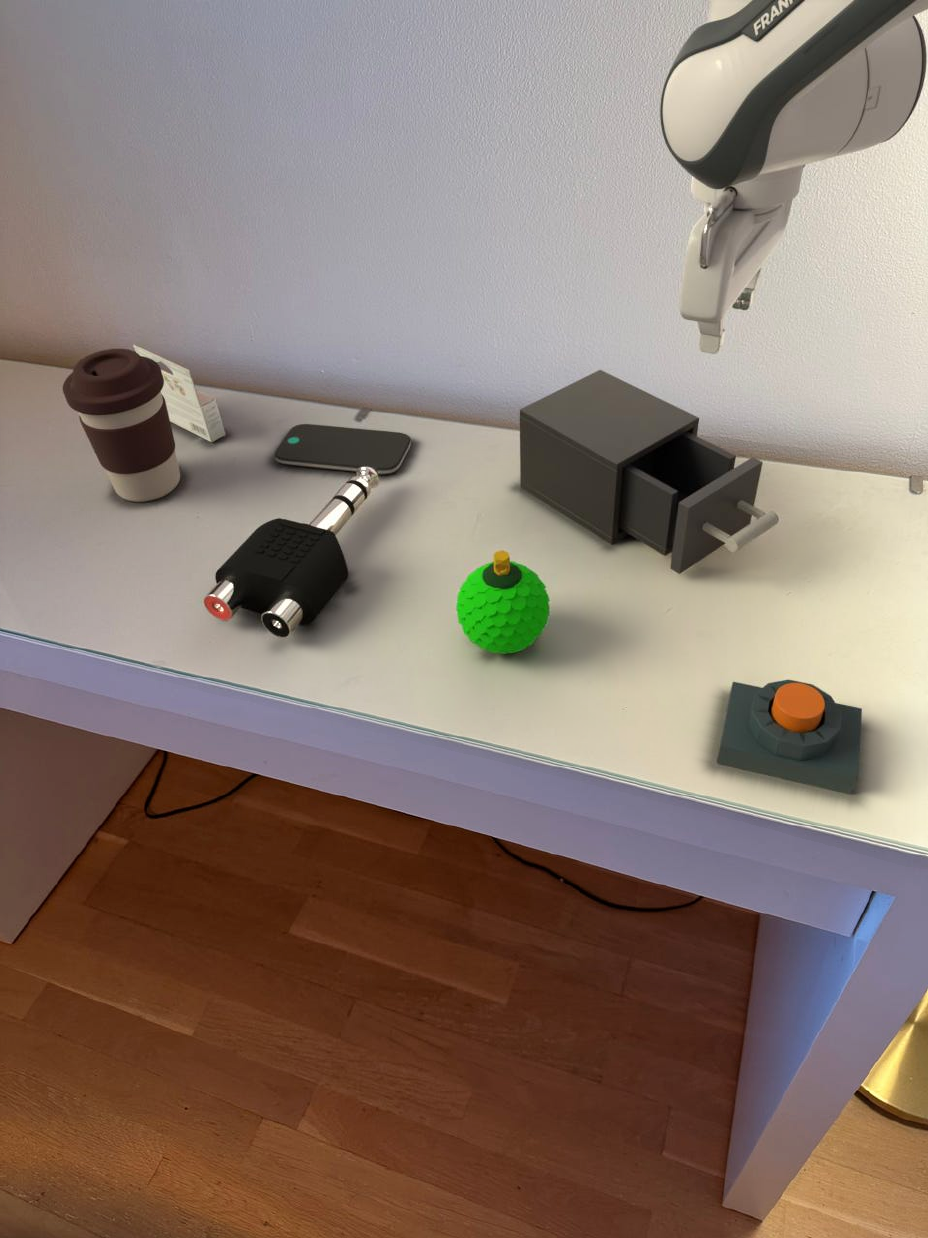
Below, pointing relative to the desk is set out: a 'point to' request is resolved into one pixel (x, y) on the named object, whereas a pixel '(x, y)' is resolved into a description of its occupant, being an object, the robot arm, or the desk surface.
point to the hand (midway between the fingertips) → (726, 327)
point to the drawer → (691, 500)
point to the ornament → (503, 606)
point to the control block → (791, 740)
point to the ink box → (187, 401)
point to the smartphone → (343, 448)
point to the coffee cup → (126, 421)
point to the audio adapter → (290, 564)
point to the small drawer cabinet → (593, 446)
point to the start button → (798, 707)
